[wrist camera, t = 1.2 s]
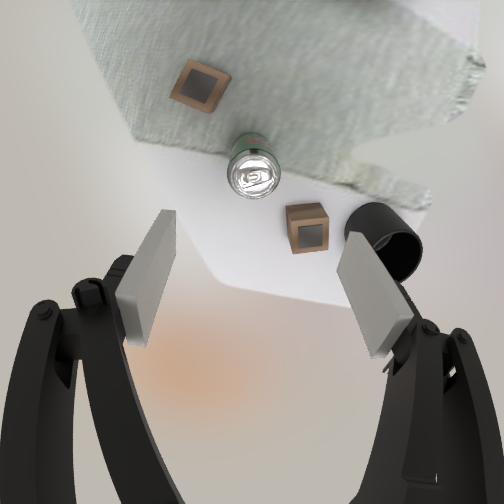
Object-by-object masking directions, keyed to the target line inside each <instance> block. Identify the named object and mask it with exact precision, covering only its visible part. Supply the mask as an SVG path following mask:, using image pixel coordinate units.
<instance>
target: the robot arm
mask: <svg viewBox="0 0 504 504" xmlns="http://www.w3.org/2000/svg"><path fill="white" fill-rule="evenodd" d="M175 256H176V211H174V210H161V212H160V213H159V215H158V217H157V219H156V220H155V222H154V223H153V225H152V227H151V229H150V230H149V232H148V233H147V235H146V237H145V239H144V240H143V242H142V244H141V245H140V247H139V249H138V251H137V253H136V254H135V256H131V255H121V256H120V257H119V258H117V259H116V260H115V261H114V262H113V264H112V266H111V267H110V269H109V271H108V272H107V275H106V276H105V277H104V279H103V281H102V280H101V279H98V278H87V279H84V280H81V281H80V282H78V283H76V285H75V286H74V287H73V289H72V292H71V294H72V297H73V300H74V303H75V306H76V308H72V309H60V308H59V306H58V304H57V303H56V302H55V301H53V300H43V301H41V302H38V303H37V304H36V305H35V306H34V307H33V308H32V310H31V311H30V314H29V317H28V319H27V322H26V325H25V328H24V331H23V334H22V337H21V340H20V344H19V347H18V350H17V354H16V357H15V361H14V365H13V369H12V373H11V378H10V381H9V386H8V391H7V396H6V402H5V408H4V414H3V421H2V429H1V439H0V504H76V495H75V485H74V471H73V414H74V397H75V386H76V377H77V368H78V361H79V360H82V363H83V370H84V377H85V382H86V388H87V393H88V398H89V403H90V408H91V412H92V416H93V420H94V425H95V428H96V432H97V436H98V439H99V443H100V446H101V450H102V453H103V456H104V459H105V462H106V465H107V468H108V471H109V473H110V476H111V479H112V482H113V484H114V486H115V489H116V492H117V494H118V496H119V499H120V501H121V504H185V502H184V501H183V499H182V497H181V495H180V493H179V491H178V490H177V488H176V486H175V484H174V482H173V480H172V478H171V476H170V474H169V472H168V470H167V467H166V465H165V463H164V461H163V459H162V457H161V455H160V452H159V450H158V447H157V445H156V443H155V441H154V438H153V436H152V433H151V431H150V428H149V426H148V423H147V420H146V417H145V415H144V412H143V410H142V406H141V404H140V401H139V398H138V395H137V392H136V389H135V386H134V382H133V379H132V376H131V373H130V369H129V365H128V362H127V358H126V355H125V351H124V347H123V341H124V339H125V336H126V339H127V342H128V344H131V345H136V346H141V347H146V345H147V341H148V338H149V335H150V331H151V328H152V325H153V322H154V318H155V315H156V312H157V309H158V306H159V303H160V300H161V297H162V293H163V290H164V287H165V285H166V281H167V279H168V276H169V273H170V270H171V267H172V264H173V261H174V259H175ZM336 271H337V274H338V276H339V278H340V280H341V283H342V285H343V287H344V290H345V292H346V295H347V297H348V299H349V302H350V304H351V307H352V309H353V312H354V314H355V317H356V319H357V322H358V324H359V327H360V329H361V332H362V335H363V337H364V340H365V343H366V345H367V348H368V351H369V353H370V356H371V359H376V358H385V357H386V356H387V355H388V353H389V352H390V350H391V349H392V351H393V354H394V356H393V357H392V359H391V360H390V361H389V363H388V364H387V365H386V367H385V368H384V369H383V373H384V372H385V371H386V370H387V369H388V368H389V372H388V379H387V384H386V390H385V396H384V401H383V406H382V411H381V415H380V420H379V424H378V429H377V433H376V437H375V440H374V444H373V448H372V451H371V455H370V458H369V462H368V465H367V468H366V471H365V474H364V478H363V480H362V483H361V486H360V489H359V492H358V493H357V495H356V496H355V497H354V499H353V500H352V501H351V502H350V503H349V504H504V456H503V449H502V442H501V436H500V431H499V426H498V421H497V417H496V413H495V408H494V404H493V401H492V397H491V393H490V390H489V386H488V383H487V380H486V377H485V374H484V371H483V368H482V365H481V362H480V359H479V357H478V354H477V352H476V348H475V346H474V343H473V341H472V338H471V337H470V335H469V334H468V333H467V331H465V330H464V329H461V328H455V329H454V330H453V331H452V332H451V334H450V335H447V334H444V333H440V330H439V328H438V327H437V325H435V324H434V323H433V322H432V321H430V320H427V319H423V318H422V317H421V315H420V313H419V311H418V310H417V308H416V306H415V305H414V303H413V301H411V298H410V297H409V295H408V294H407V292H406V290H405V289H404V287H403V286H402V285H401V284H400V283H399V282H398V281H397V280H393V279H392V277H391V276H390V274H389V273H388V271H387V269H386V268H385V266H384V265H383V263H382V262H381V260H380V259H379V257H378V256H377V254H376V253H375V251H374V250H373V248H372V247H371V245H370V244H369V243H368V241H367V240H366V238H365V237H364V235H363V234H362V233H360V232H353V231H350V233H349V236H348V239H347V242H346V245H345V248H344V251H343V253H342V256H341V259H340V262H339V265H338V267H337V270H336ZM454 367H455V369H456V373H455V374H454V375H453V376H452V377H450V374H449V372H450V371H451V370H452V369H453V368H454ZM436 473H437V483H436Z"/></svg>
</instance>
